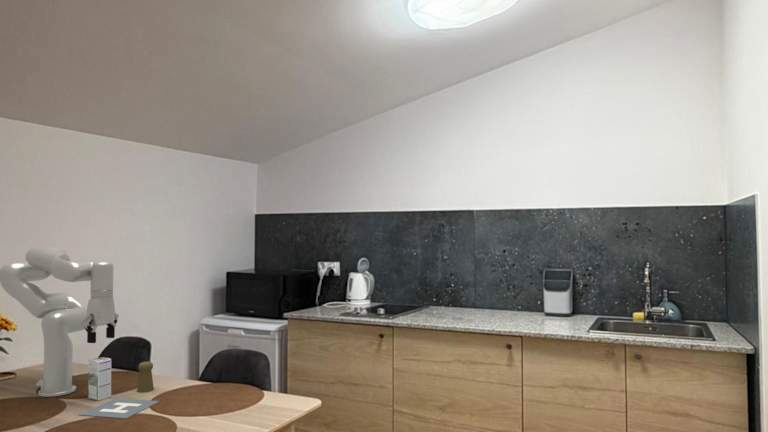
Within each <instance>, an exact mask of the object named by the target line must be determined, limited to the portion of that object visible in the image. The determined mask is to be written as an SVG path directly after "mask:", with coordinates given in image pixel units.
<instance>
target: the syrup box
mask: <svg viewBox="0 0 768 432" xmlns="http://www.w3.org/2000/svg"><path fill="white" fill-rule="evenodd" d="M87 368H88V372H87V375H88V378H87V381H88V383H87V385H88V386H87V399H88V400H94V401H102V400H105V399H108V398H110V397H112V358H109V357H104V356H103V357H102V356H101V357H94V358H91V359H89V360H88V367H87Z"/></svg>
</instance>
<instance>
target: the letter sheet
mask: <svg viewBox="0 0 768 432" xmlns="http://www.w3.org/2000/svg"><path fill="white" fill-rule="evenodd" d="M159 402H160V400H147V399H146V400H145V399H131V398H129V399H128V398H117V397H115V398H113V399H112V400H111V399H110V400H108V401H107V402H104V403H103V404H100V405H98V406H95V407H92V408H91V409H89V410H87V411H84V412H81V413H80V414H78V416H82V417H83V416H84V417H97V418H98V417H99V418H113V419H123V420H124V419H125V420H126V419H128V418H131V417H132V416H134V415H136V414H138V413H140V412H142V411H144V410H147V409H149V408H151V407H152V406H154V405H156V404H159Z"/></svg>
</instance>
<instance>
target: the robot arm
mask: <svg viewBox="0 0 768 432" xmlns="http://www.w3.org/2000/svg"><path fill="white" fill-rule="evenodd" d="M24 259H25V260H19V261H18V260H17V261H12V262H8V263H6V264H4V265H2V266H1V267H0V286H1V287H2V289H3V290H4V291H5V292H6V294H7V295H9V296H10V297H12V298H13V299H15V300H16V301H17V302H18V303H19V304H20V305H21V306H23V307H24V309H26V310H27V312H29V313H30V315H31V316H32V317H35V318H36V319H41V330H42V337H43V372H42V373H43V375H42V376H43V377H42V378H43V379H40V380H38V382H37V383H35V386H36V387H40V389H39V390H38V392H37V395H38V397H45V398H47V397H49V398H51V397H59V396H64V395H68V394H72V393H74V392H75V391H77V385H76V384H75V385H74V384H73V357H74V356H73V354H74V353H73V352H74V351H73V350H74V349H73V348H74V346H73V342H72V340H71V338H70V336H69V335H68V334H71V333H76V332H81V331H84V330H85V332H86V335H87V339H86V342H87V344H95V343H96V342H97V332H96V329H97V328H98V327H100V326H104V325H106V332H105V334H106V335H105V338H106V339H114V338H116V337H115V330H116V327H117V323H118V319H119V316H120V315H119V314H118V313H117V312H116V307H115V300H114V264H113V263H112V262H111V261H98V260H97V261H96V260H87V261H86V260H83V261H71V258H70V256H69V255H68V253H67V251H66V250H65V249H64V248H63V247H62V246H58V245H50V246H49V245H46V246H45V245H42V246H39V245H38V246H35V247H31V248H30V249H28V250H27V251H26V253H25V258H24ZM51 275H52V277H53V278H54V279H57V280H60V281H63V282H67V283H75V282H77V283H79V282H87V281H88V282H89V281H90V299H88V303H87V307H85V306H84V305H82V303H80V302H79V301H78V300H77V299H76V298H75V297H74V296H73V295H72V294H69V293H66V292H54V293H46V292H45V291H44V290H42V289H41V287H39V286H38V285H36V284H34V283H32V282H34V281H35V282H36V281H43V280H45V279H47V278H49V277H50V276H51Z"/></svg>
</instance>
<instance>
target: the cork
mask: <svg viewBox="0 0 768 432" xmlns="http://www.w3.org/2000/svg"><path fill="white" fill-rule="evenodd" d="M153 369H154V364H153V362H152V361H143V362H140V363H139V364H138V370H139V375H138V383H137V387H136V392H137V393H139V394H140V393H141V394H142V393H149V392H153V391H154V390H155V389H154V388H155V387H154V381H153V380H154V379H153V371H152V370H153Z"/></svg>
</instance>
